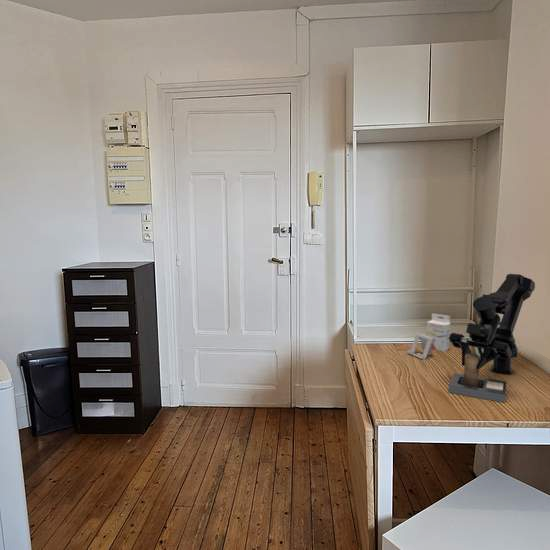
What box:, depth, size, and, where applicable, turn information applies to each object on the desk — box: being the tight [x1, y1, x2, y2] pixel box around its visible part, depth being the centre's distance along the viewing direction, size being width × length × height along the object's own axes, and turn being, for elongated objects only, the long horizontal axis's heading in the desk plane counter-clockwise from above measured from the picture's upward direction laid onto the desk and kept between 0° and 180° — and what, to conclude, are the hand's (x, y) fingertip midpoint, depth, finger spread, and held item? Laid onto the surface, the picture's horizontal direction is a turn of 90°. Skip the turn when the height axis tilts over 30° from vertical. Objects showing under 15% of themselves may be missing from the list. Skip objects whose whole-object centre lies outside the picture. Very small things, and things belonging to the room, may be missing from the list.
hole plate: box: [448, 372, 507, 403], centre depth 135 cm, size 12×16×3 cm
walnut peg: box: [463, 353, 481, 388], centre depth 136 cm, size 4×4×10 cm
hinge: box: [473, 347, 484, 357], centre depth 174 cm, size 17×5×10 cm, turn 150°
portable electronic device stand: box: [406, 332, 436, 361], centre depth 170 cm, size 9×8×8 cm
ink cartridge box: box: [426, 312, 451, 352], centre depth 179 cm, size 9×5×15 cm, turn 47°
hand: (469, 367), depth 135 cm, fingers closed on walnut peg, 4 cm apart
